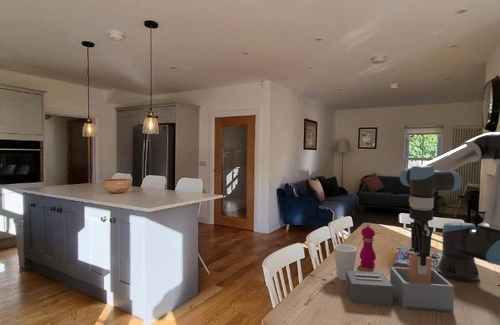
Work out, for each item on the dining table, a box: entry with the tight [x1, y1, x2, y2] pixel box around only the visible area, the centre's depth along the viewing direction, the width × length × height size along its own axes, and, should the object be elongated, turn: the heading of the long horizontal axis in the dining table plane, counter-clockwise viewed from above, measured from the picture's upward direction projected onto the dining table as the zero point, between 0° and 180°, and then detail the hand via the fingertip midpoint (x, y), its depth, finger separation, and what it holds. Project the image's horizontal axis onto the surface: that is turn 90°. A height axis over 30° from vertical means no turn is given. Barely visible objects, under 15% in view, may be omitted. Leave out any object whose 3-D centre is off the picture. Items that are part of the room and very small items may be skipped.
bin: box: [389, 266, 455, 313], centre depth 110 cm, size 16×15×9 cm
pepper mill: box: [359, 224, 377, 269], centre depth 143 cm, size 7×7×20 cm
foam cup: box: [333, 244, 358, 282], centre depth 130 cm, size 10×9×13 cm
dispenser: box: [345, 270, 394, 306], centre depth 113 cm, size 14×12×8 cm
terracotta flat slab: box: [408, 255, 432, 284], centre depth 110 cm, size 7×2×15 cm, turn 81°
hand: (419, 271), depth 110 cm, fingers open, 3 cm apart
